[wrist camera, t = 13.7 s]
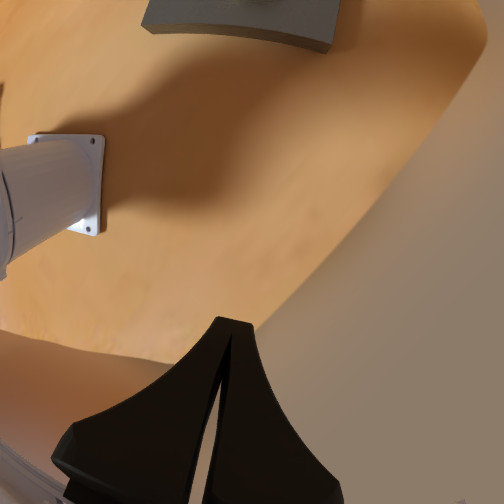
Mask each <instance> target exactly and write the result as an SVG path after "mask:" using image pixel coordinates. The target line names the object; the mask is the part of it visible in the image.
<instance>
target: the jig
mask: <svg viewBox="0 0 504 504" xmlns="http://www.w3.org/2000/svg"><path fill="white" fill-rule="evenodd" d="M339 4H340V0H150V1H149V4H148V6H147V9H146V12H145V14H144V17H143V20H142V23H141V26H142V27H143V28H145V29H146V30H148V31H149V32H150V33H152V34H170V33H194V34H216V35H229V36H239V37H247V38H255V39H261V40H268V41H273V42H279V43H284V44H289V45H294V46H298V47H302V48H307V49H311V50H314V51H318V52H322V53H325V54H326V53H327V52H328V50H329V48H330V47H331V45H332V42H333V37H334V32H335V27H336V21H337V16H338V10H339Z"/></svg>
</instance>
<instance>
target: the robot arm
mask: <svg viewBox="0 0 504 504" xmlns="http://www.w3.org/2000/svg"><path fill="white" fill-rule="evenodd" d="M93 139H95V143H94V144H93ZM104 146H105V138H104V136H103V135H92V134H35V135H30V136H29V137H28V142H27V145H22V146H16V147H11V148H6V149H1V150H0V281H2V280H3V279H4V278H6V276H7V275H6V266H7V264H9V263H10V262H12V261H13V260H15V259H16V258H18V257H19V256H21V255H23V254H24V253H26V252H27V251H29V250H30V249H32V248H34V247H35V246H37V245H39V244H40V243H42V242H44V241H45V240H47V239H49V238H50V237H52V236H54V235H55V234H57V233H59V232H61V231H63V230H64V229H68V230H72V231H76V232H80V233H83V234H87V235H91V236H96V235H98V234H99V233H100V200H101V180H102V166H103V156H104ZM89 227H90V228H91V230H89ZM221 380H222V381H221ZM220 383H221V391H220V400H219V401H220V402H219V410H218V420H217V429H216V436H215V442H214V447H213V451H212V456H211V461H210V466H209V471H208V476H207V480H206V485H205V490H204V495H203V499H202V504H344V499H343V494H342V490H341V487H340V483H339V481H338V480H337V479H336V478H335V477H334V476H333V475H332V474H331V473H330V472H329V471H328V470H327V469H326V468H325V467H324V466H323V465H322V464H321V463H320V462H319V461H318V460H317V458H316V457H315V456H314V455H313V454H312V452H311V451H310V450H309V449H308V448H307V446H306V445H305V444H304V442H303V441H302V440H301V438H300V437H299V435H298V434H297V433H296V431H295V430H294V428H293V427H292V425H291V424H290V422H289V421H288V419H287V417H286V416H285V414H284V412H283V411H282V409H281V407H280V405H279V403H278V401H277V399H276V397H275V395H274V393H273V391H272V389H271V386H270V384H269V382H268V379H267V377H266V374H265V371H264V369H263V366H262V363H261V359H260V357H259V353H258V349H257V345H256V341H255V335H254V326H253V325H252V324H251V323H247V322H243V321H238V320H233V319H229V318H224V317H220V316H218V317H216V318H215V319H214V321H213V322H212V324H211V325H210V327H209V328H208V330H207V331H206V332H205V334H204V335H203V336H202V337H201V339H200V340H199V341H198V342H197V343H196V344H195V345H194V346H193V347H192V349H191V350H190V351H189V352H188V353H187V354H186V355H185V356H184V357H183V358H182V359H181V360H179V361H178V362H177V363H176V364H175V365H174V366H173V367H172V368H171V369H170V370H169V371H167V372H166V373H165V374H164V375H162V376H161V377H160V378H158V379H157V380H156V381H154V382H153V383H152V384H150V385H149V386H147V387H146V388H144V389H143V390H141V391H140V392H138V393H137V394H135V395H133V396H132V397H130V398H128V399H126V400H124V401H123V402H121V403H119V404H117V405H115V406H113V407H111V408H109V409H107V410H105V411H103V412H101V413H98V414H95V415H93V416H90V417H88V418H85V419H83V420H80V421H77V422H74V423H73V424H72V425H71V426H70V427H69V428H68V430H67V431H66V432H65V434H64V435H63V436H62V438H61V439H60V441H59V443H58V445H57V447H56V448H55V450H54V452H53V454H52V456H51V459H52V462H53V463H54V464H55V466H56V467H58V468H59V469H60V470H61V471H62V472H63V473H64V474H66V475H67V476H68V477H69V478H70V480H69V482H68V484H67V486H66V485H64V484H62V483H60V482H59V481H57V480H55V479H54V478H52V477H51V476H49V475H48V474H46V473H45V472H43V471H42V470H40V469H39V468H37V467H36V466H34V465H33V464H31V463H30V462H29V461H27V460H26V459H25V458H24V457H22V456H21V455H19V454H18V453H17V452H16V451H15V450H13V449H12V448H11V447H10V446H8V445H7V444H6V443H5V442H4V441H3V440H1V439H0V504H64V503H63V502H65V503H66V504H188V502H189V498H190V493H191V489H192V484H193V480H194V475H195V470H196V466H197V461H198V457H199V452H200V448H201V444H202V439H203V435H204V432H205V428H206V425H207V422H208V419H209V416H210V413H211V410H212V407H213V404H214V401H215V398H216V395H217V392H218V389H219V386H220ZM62 501H63V502H62ZM454 504H466V503H465V500H464V499H462V500H460V501H458V502H456V503H454Z"/></svg>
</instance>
